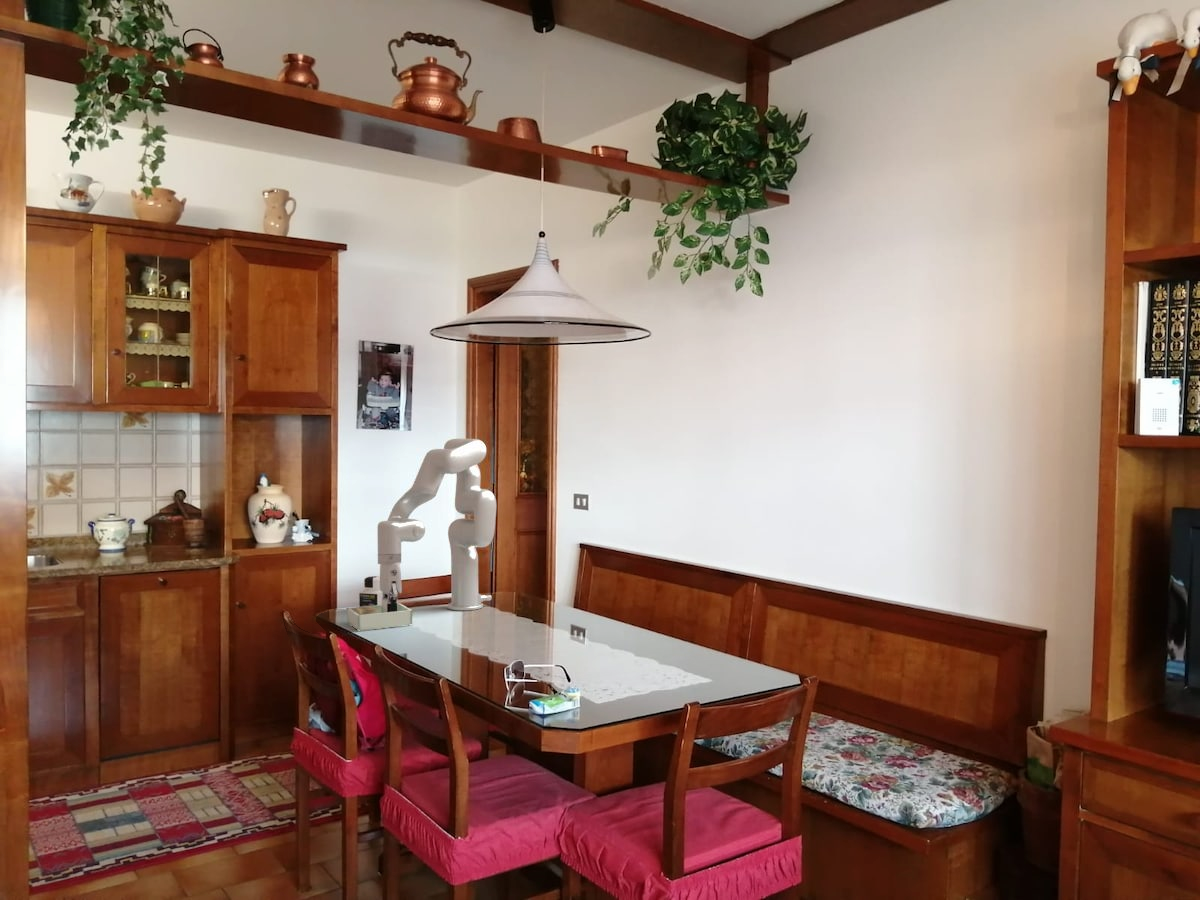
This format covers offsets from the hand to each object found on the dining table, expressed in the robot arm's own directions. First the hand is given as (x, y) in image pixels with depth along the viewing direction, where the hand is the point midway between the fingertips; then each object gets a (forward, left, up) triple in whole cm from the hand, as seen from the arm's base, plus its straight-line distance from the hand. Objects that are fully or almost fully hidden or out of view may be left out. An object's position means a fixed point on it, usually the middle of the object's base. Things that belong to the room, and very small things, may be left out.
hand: (389, 613), depth 301 cm
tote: (+3, 0, -3) cm, 5 cm away
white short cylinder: (0, 0, -1) cm, 1 cm away
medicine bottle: (-1, -23, -3) cm, 23 cm away
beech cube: (+8, 0, -3) cm, 8 cm away
